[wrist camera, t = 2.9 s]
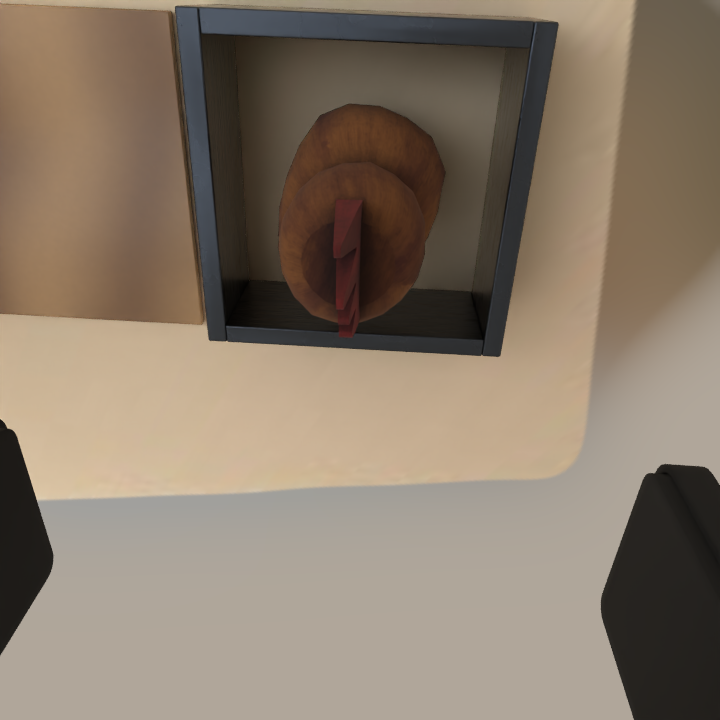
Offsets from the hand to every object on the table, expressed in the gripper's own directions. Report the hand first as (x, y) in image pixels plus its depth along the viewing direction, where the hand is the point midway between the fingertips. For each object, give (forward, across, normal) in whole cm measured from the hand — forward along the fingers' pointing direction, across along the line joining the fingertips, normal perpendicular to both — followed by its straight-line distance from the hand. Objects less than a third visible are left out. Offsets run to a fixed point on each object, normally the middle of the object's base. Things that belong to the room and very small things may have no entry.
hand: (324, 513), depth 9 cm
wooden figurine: (+21, +1, 0) cm, 21 cm away
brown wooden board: (+21, +19, +1) cm, 28 cm away
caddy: (+21, +1, 0) cm, 21 cm away
